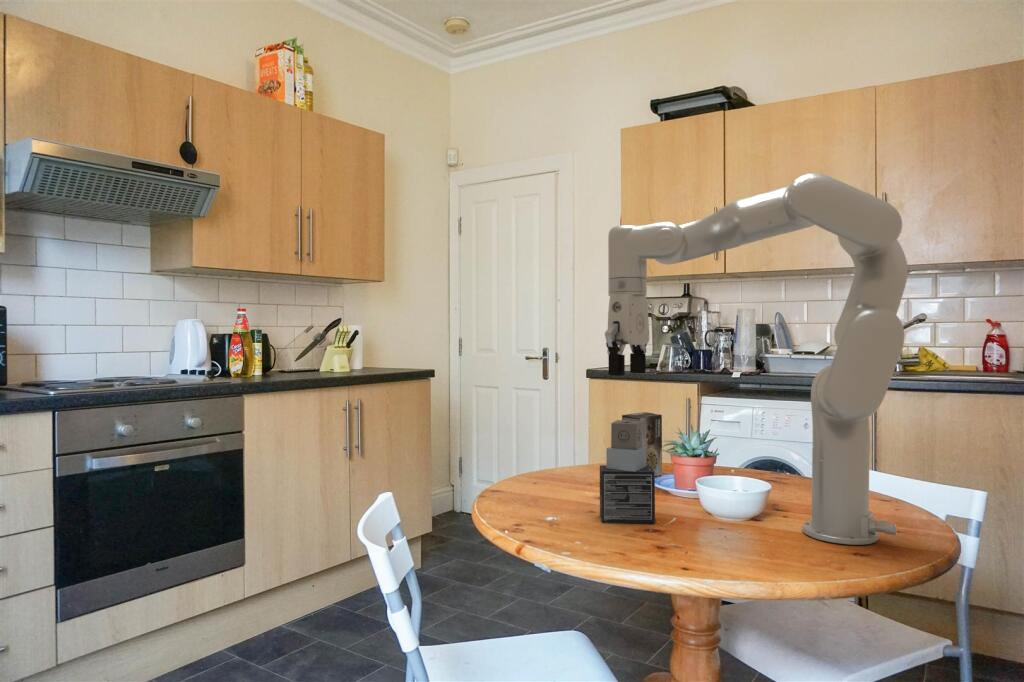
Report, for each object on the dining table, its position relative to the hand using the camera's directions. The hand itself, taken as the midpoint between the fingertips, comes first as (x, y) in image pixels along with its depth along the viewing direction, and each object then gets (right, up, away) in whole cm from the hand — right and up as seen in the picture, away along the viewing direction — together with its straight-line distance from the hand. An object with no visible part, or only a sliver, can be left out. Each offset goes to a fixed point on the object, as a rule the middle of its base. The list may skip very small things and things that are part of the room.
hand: (627, 374), depth 135 cm
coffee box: (+11, -29, +40) cm, 51 cm away
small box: (0, -29, 0) cm, 29 cm away
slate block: (0, -19, 0) cm, 19 cm away
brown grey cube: (0, -15, 0) cm, 15 cm away
